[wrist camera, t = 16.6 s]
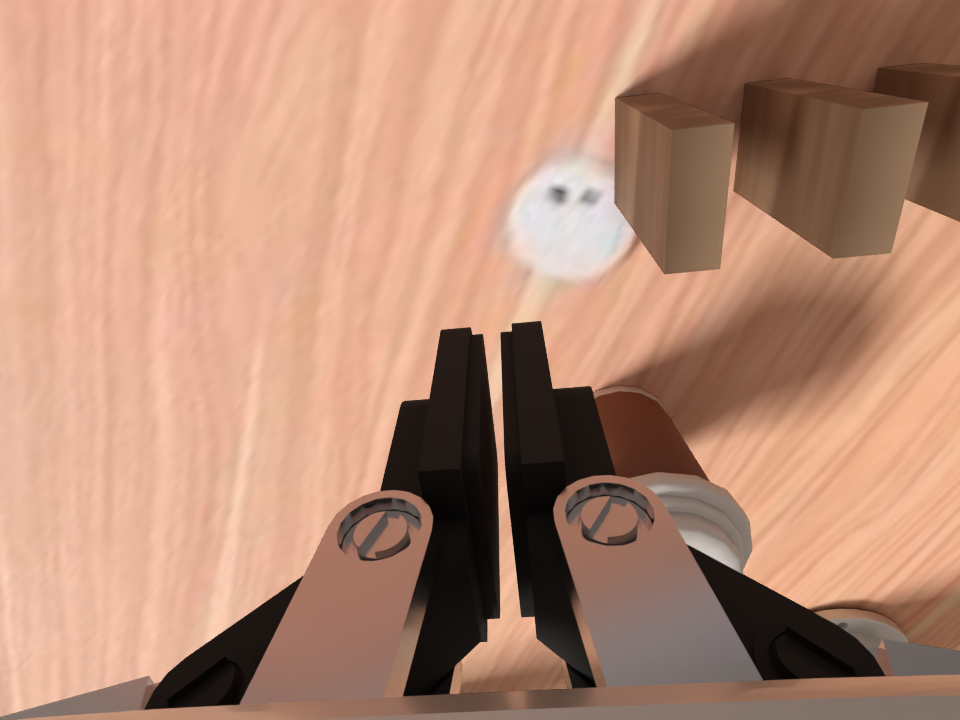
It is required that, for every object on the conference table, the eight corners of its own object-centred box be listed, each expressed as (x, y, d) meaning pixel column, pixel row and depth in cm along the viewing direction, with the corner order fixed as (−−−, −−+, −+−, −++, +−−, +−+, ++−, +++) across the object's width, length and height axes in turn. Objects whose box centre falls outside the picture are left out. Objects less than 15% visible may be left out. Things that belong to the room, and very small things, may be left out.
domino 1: (657, 92, 28) (734, 123, 19) (653, 198, 30) (719, 269, 21) (615, 97, 28) (671, 130, 19) (614, 203, 30) (664, 274, 22)
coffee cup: (579, 500, 40) (609, 666, 30) (520, 402, 36) (532, 553, 26) (708, 452, 38) (791, 613, 28) (661, 342, 34) (736, 481, 24)
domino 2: (788, 78, 27) (928, 102, 19) (774, 186, 30) (890, 253, 21) (745, 83, 27) (862, 109, 19) (733, 190, 30) (833, 258, 21)
